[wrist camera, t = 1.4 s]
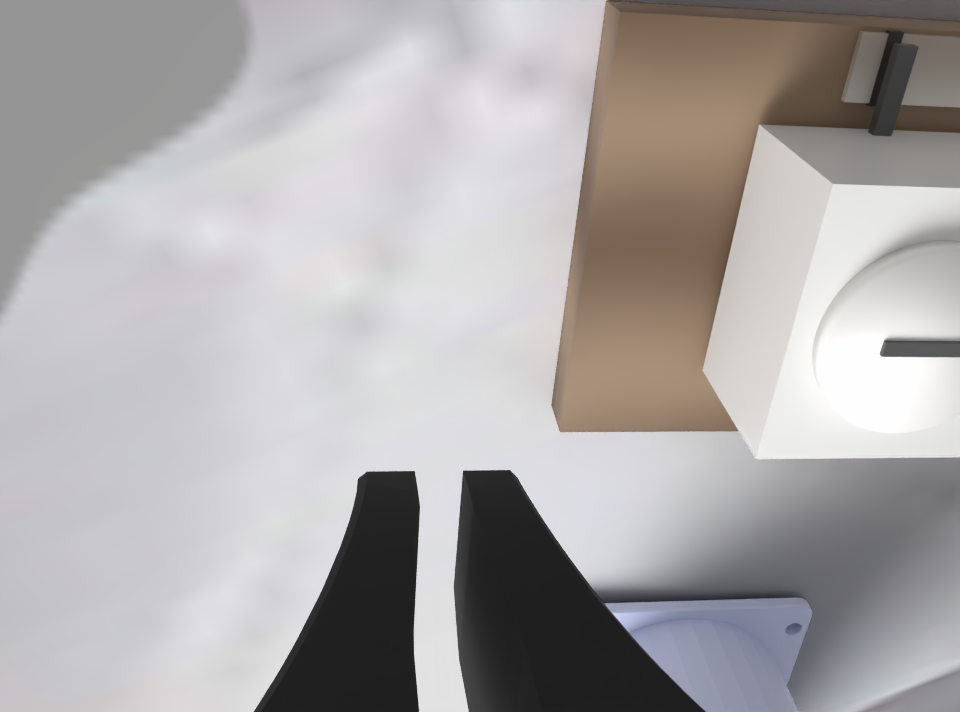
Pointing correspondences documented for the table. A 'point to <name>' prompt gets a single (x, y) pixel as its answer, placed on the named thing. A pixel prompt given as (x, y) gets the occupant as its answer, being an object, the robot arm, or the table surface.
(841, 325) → the gauge
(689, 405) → the test bench
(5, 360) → the table surface
